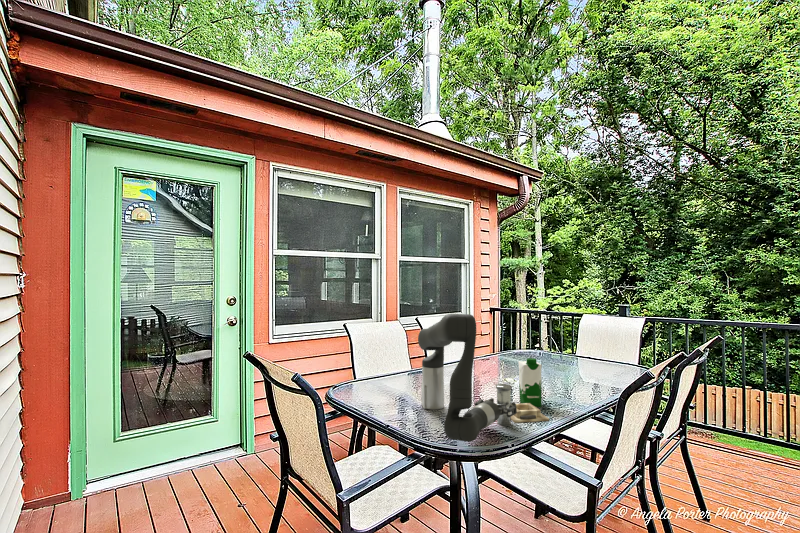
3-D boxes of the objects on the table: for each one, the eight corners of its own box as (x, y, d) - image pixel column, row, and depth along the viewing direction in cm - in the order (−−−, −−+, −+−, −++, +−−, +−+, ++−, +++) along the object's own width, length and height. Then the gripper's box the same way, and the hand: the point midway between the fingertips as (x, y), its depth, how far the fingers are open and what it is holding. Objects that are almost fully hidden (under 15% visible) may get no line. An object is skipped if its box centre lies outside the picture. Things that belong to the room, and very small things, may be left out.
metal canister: (499, 426, 152) (499, 388, 152) (494, 421, 157) (493, 384, 158) (514, 425, 152) (514, 387, 153) (508, 420, 158) (507, 383, 158)
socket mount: (514, 422, 155) (514, 413, 155) (500, 410, 169) (500, 402, 169) (549, 420, 157) (548, 411, 157) (532, 409, 171) (532, 401, 171)
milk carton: (523, 408, 173) (523, 360, 173) (517, 401, 182) (516, 356, 182) (544, 407, 173) (543, 359, 174) (536, 401, 182) (535, 355, 183)
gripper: (503, 407, 138) (521, 396, 151) (465, 399, 146) (485, 389, 159) (503, 429, 137) (521, 416, 150) (466, 421, 146) (486, 409, 159)
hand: (503, 402), depth 155 cm, fingers open, 8 cm apart
